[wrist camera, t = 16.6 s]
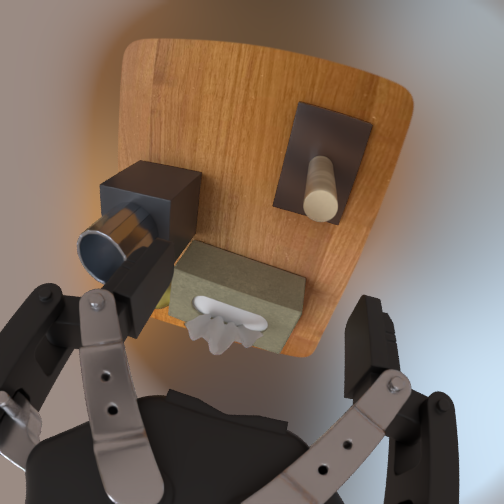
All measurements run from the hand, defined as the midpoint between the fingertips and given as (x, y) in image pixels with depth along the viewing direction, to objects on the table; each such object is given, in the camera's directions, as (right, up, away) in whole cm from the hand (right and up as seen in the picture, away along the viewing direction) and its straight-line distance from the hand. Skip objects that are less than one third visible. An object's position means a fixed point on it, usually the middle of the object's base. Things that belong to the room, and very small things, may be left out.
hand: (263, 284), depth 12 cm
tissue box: (-2, -3, +37) cm, 37 cm away
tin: (-15, +4, +23) cm, 28 cm away
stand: (-13, +9, +31) cm, 35 cm away
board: (+8, +12, +24) cm, 28 cm away
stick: (+8, +12, +23) cm, 27 cm away
